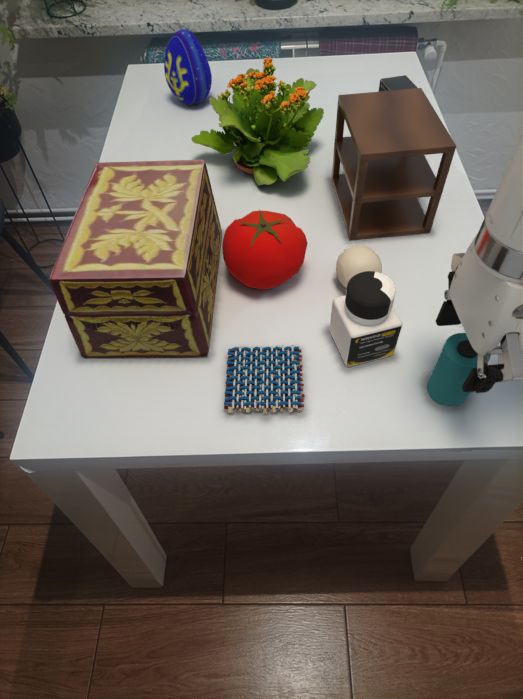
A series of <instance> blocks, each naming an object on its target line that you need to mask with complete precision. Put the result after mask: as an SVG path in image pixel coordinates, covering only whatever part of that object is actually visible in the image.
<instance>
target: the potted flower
mask: <svg viewBox="0 0 523 699" xmlns="http://www.w3.org/2000/svg"><path fill="white" fill-rule="evenodd" d="M273 59H274V58H273V57H266V58H265V57H264V58H263V61H262V64H263V66H262V68H263V69H262V71H261V70H260V69H257V68H256V69H254V68H253V67H250V68H248V69H247V70H246V72H245V73H239V74H237V76H235V78H231V79H230V80H229V82H228V83H227V85H226V88H225V91H224V92H223V91H221V92H220V94H218V93H217V94H216V95H217V96H216V97H217V98H216V97H214V96H211V97H209V98H208V99H209V100H208V101H209V104H210V105H211V106H212V110H213V111H214V112H215V113H216V114H218V121H219V123H218V127H219V128H222V131H220V130H219V131H218V130H215V129H213V128H211V129H210V130H209V131H210V132H209V131H208V130H201V131H199V134H194V135H193V136H192V137H191V142H192V143H194V144H197V145H201V146H203V147H207V148H210V149H212V150H214V151H216V152H217V153H218V154H220V155H228V154H230V153H232V152H234V153H233V154H232V156H231V157H232V159H233V163H234V165H235V166H236V167H237V168H238V169H239V170H241V171H243V172H244V173H246V174H249V175H253V178H254V181H255V183H256V185H257V186H260V187H261V186H264V185H268V186H270V185H273V184H275V182H276V181H277V180H278V177H279V178H280V180H281V181H282V182H287V180H288V179H290V178H291V177H292V176H294V175H296V174H298V173H300V172H302V171H304V170H306V169H307V168H309V166H308V165H310V163H311V157H310V156H308V154H309V152H310V149H309V148H308V147H309V145H310V142H311V141H312V138H313V137H314V136H315V132H316V130H317V128H318V126H319V125H320V123H321V122H322V121H321V120H323V118H324V114H325V112H324V111H325V110H324V108H322V107H318V108H317V107H313V108H310V107H311V104H310V103H309V102H308V101H309V100H310V98H311V96H310V93H311V91H313V90H314V89H315V88H316V87H317V85H318V83H316V82H315V81H314V80H308V79H304V78H303V77H300V78H298V79H296V81H293V82H292V84H289V83H286V82H285V81H283V79H280V80H279V82H276V80H277V77H276V76H275V75H274V73H275V71H276V67H275V65H274V62H273ZM230 88H231V89H232V93H231V91H230V90H228V89H230ZM277 88H278V89H277ZM276 90H277V92H276ZM231 95H232V96H231ZM230 96H231V97H230ZM231 100H232V102H230V101H231Z"/></svg>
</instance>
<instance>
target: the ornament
mask: <svg viewBox="0 0 523 699" xmlns="http://www.w3.org/2000/svg"><path fill="white" fill-rule="evenodd" d="M163 64H164V65H163V69H164V77H165V82H166V83H167V86H168V88H169V90H170V92H171V93H172V94H173V96H175V98H176V99H177V100H178V101H180V102H181V103H183V104H185V105H188V106H193V105H198V104H200V103H202V102H203V101H205V100H206V99H207V98H208V96H209V94H210V92H211V89H212V84H213V83H212V81H213V80H212V79H213V74H212V70H211V66H210V64H209V61H208V58H207V55H206V53H205V51H204V48H203V47H202V45H201V43H200V42H199V40H198V38H197V37H196V36H195V34H193V33H192V32H191V31H190V30H189V29H186V28H182V29H179V30H177V31H176V32H175V33H174V34H172V36H170V38H169V40H168V42H167V45H166V49H165V53H164V60H163Z"/></svg>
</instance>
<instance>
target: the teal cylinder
mask: <svg viewBox="0 0 523 699" xmlns="http://www.w3.org/2000/svg"><path fill="white" fill-rule="evenodd" d="M491 356H492V355H488V363H489V361H490V360H491ZM477 361H478V353H477V352H476V351H475V350H474V349H473V347H472V346H471V344H470V342H469V339H468V337H467V335H466V333H465V332H457V333H454V334H451V335H450V336H448V338H447V339H446V340H445V343H444V344H443V347H442V349H441V352H440V353H439V356H438V358H437V361H436V362H435V365H434V367H433V368H432V371H431V374H430V376H429V378H428V380H427V383H426V390H427V393H428V395H429V397H430V398H431V399H432V400H433V401H434V402H435V403H437V404H438V405H441V406H443V407H448V408H455V407H458V406H461V405H462V404H464V403H465V402H466V400H467V399H468V397H469V396H470V393H471V392H463V389H462V385H463V384H464V382H465V380H466V379H467V377H468V375H469V374H470V372H471V370H472V369H473V368H477Z"/></svg>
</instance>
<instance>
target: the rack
mask: <svg viewBox="0 0 523 699" xmlns="http://www.w3.org/2000/svg"><path fill="white" fill-rule="evenodd" d="M336 108H337V109H336V121H335V132H334V145H333V156H332V157H333V158H332V167H331V183H332V187H333V190H334V193H335V196H336V199H337V200H336V201H337V202H338V206H339V210H340V213H341V216H342V220H343V223H344V227H345V230H346V233H347V237H348V240H349V241H358V240H369V239H370V240H371V239H380V238H381V239H382V238H392V237H402V236H412V235H422V234H431V231H432V228H433V224H434V221H435V219H436V214H437V212H438V207H439V205H440V202H441V199H442V195H443V192H444V188H445V184H446V182H447V179H448V175H449V173H450V168H451V165H452V162H453V159H454V156H455V152H456V149H457V145H456V143H455V141H454V139H453V138H452V136H451V135H450V133H449V131H448V129H447V128H446V126H445V125H444V123H443V121H442V119H441V118H440V116H439V115H438V113H437V111H436V110H435V108H434V107H433V105H432V103H431V102H430V100H429V98H428V97H427V95H426V93H425V92H424V90H423V88H422V87H418V88H414V89H403V90H391V91H380V92H378V91H369V92H359V93H348V94H347V93H346V94H339V95H338V96H337V107H336ZM345 123H346V127H347V129H348V132H349V135H350V136H344V130H345ZM440 154H442V155H441V159H440V162H439V165H438V169H437V173H436V174H435V173H434V171H433V169H432V167H431V165H430V163H429V161H428V160H427V158H426V156H427V155H440ZM341 168H342V170H343V173H341V172H340V171H341ZM421 198H429V201H428V204H427V207H426V212H424V209H423V207H422V205H421V203H420V201H419V199H421Z"/></svg>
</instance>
